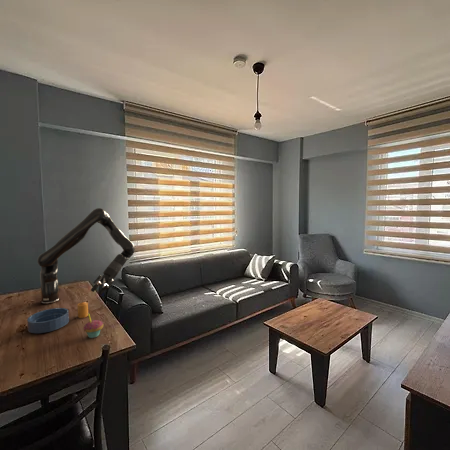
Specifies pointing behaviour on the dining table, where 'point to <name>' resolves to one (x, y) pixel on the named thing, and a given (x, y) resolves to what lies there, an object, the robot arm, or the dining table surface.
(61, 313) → the bowl
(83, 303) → the orange cylinder
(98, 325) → the cupcake
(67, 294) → the dining table surface
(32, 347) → the dining table surface
